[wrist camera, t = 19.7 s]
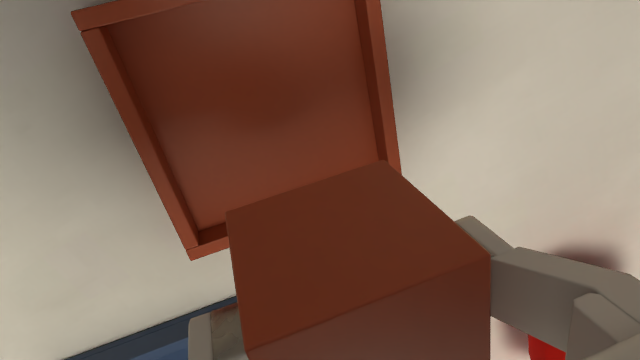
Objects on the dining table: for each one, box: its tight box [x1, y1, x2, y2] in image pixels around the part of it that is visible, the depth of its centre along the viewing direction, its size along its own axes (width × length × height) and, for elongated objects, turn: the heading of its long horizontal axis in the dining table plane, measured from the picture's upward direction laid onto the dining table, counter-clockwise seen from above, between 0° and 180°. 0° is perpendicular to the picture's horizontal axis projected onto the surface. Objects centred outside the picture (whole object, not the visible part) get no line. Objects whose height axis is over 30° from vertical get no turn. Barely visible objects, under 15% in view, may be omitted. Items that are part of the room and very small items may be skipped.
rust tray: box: [71, 0, 402, 261], centre depth 21 cm, size 14×14×2 cm
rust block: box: [225, 160, 491, 360], centre depth 10 cm, size 4×4×4 cm
